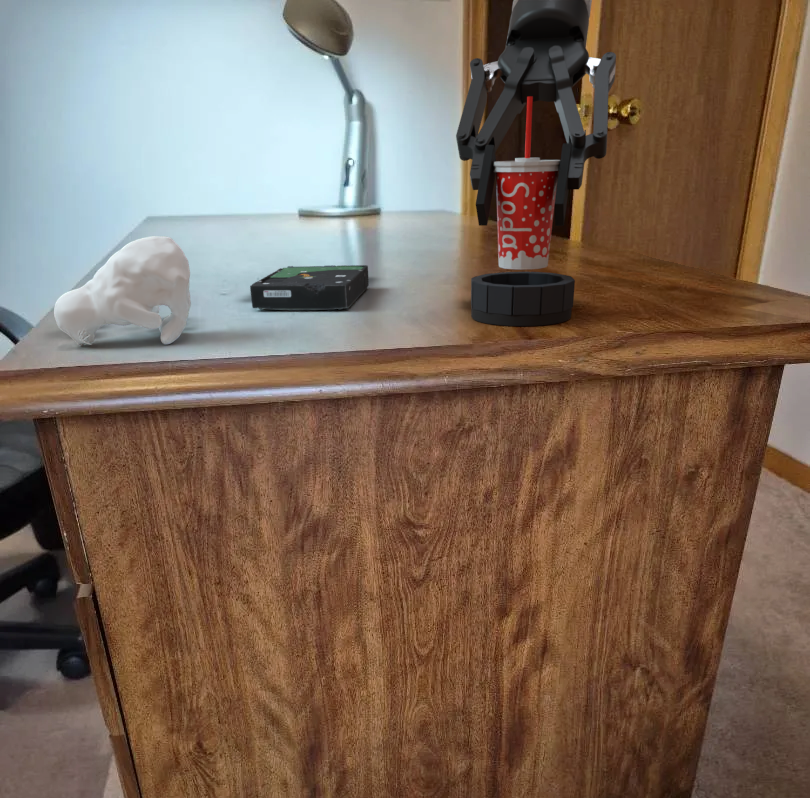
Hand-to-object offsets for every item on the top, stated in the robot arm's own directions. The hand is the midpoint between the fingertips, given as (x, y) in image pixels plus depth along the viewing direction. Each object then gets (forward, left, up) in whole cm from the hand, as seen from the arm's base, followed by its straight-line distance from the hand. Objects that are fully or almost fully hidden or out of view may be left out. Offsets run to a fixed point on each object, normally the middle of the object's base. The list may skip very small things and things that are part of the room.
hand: (520, 214), depth 69 cm
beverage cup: (+3, -2, -5) cm, 6 cm away
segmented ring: (+3, -2, -9) cm, 10 cm away
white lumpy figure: (+13, +33, -10) cm, 36 cm away
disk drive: (+24, +11, -10) cm, 28 cm away
